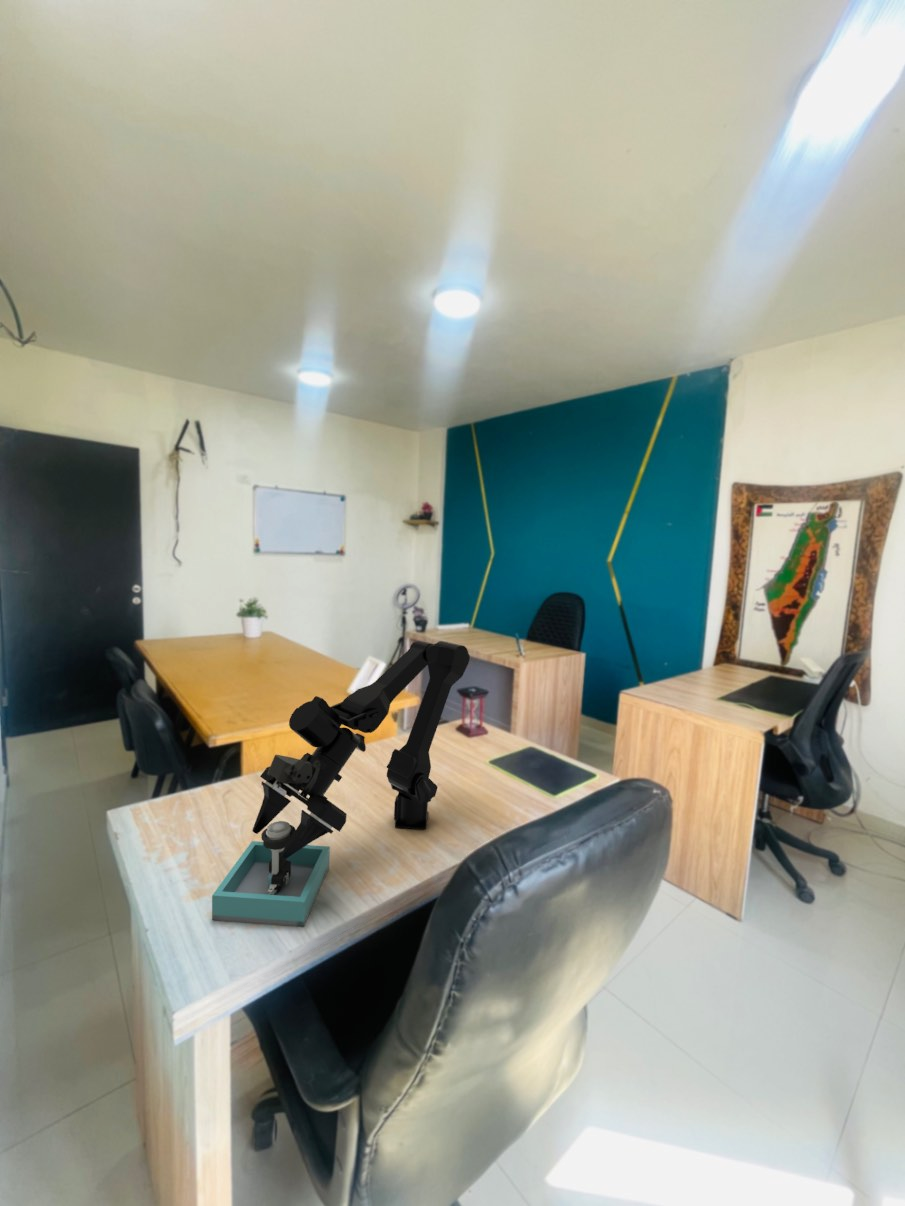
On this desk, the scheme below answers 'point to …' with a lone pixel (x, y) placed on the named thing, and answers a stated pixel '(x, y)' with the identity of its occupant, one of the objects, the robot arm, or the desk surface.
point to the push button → (277, 853)
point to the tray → (248, 887)
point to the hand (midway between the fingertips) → (268, 844)
